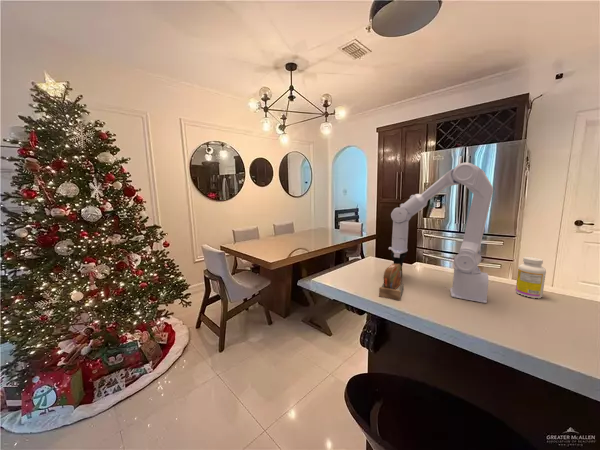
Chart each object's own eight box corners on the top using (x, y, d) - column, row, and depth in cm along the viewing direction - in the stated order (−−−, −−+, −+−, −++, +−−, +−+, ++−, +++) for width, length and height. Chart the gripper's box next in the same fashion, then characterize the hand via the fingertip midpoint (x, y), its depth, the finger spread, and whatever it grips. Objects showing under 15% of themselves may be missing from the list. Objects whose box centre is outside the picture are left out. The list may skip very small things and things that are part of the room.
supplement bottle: (522, 289, 85) (527, 255, 83) (547, 297, 78) (552, 260, 77) (510, 292, 83) (515, 256, 81) (534, 300, 76) (539, 262, 75)
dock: (403, 289, 86) (404, 281, 85) (399, 300, 77) (400, 291, 76) (384, 285, 89) (385, 278, 89) (379, 296, 80) (379, 287, 80)
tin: (390, 295, 81) (391, 272, 79) (381, 293, 83) (382, 270, 81) (402, 282, 92) (403, 261, 91) (394, 280, 94) (395, 260, 93)
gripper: (391, 234, 102) (390, 264, 104) (386, 239, 89) (384, 274, 91) (409, 235, 99) (407, 266, 100) (406, 241, 86) (404, 277, 88)
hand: (398, 270), depth 96 cm, fingers closed
